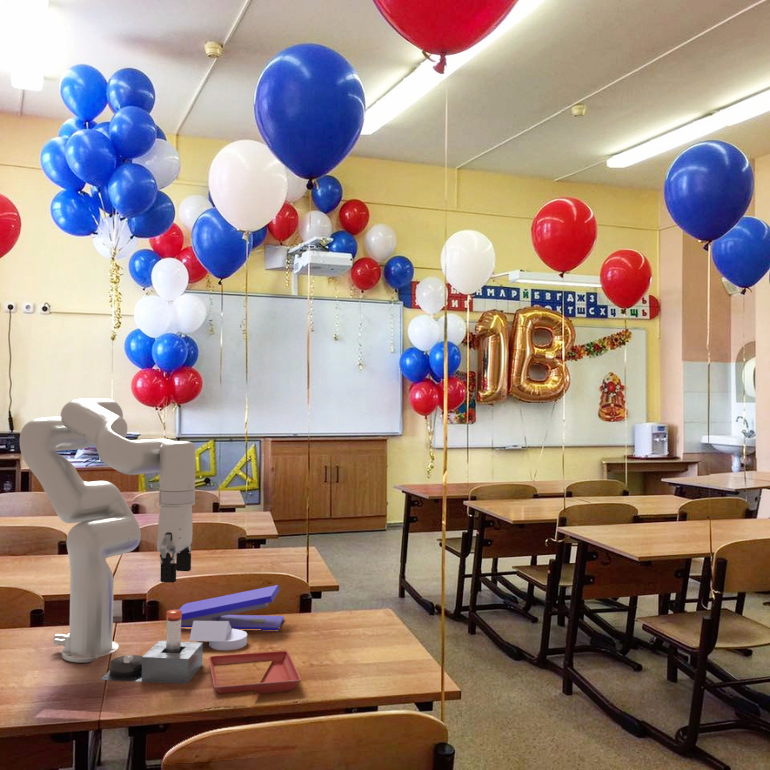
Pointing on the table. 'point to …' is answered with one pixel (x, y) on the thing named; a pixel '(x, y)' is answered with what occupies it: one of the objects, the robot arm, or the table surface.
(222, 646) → the wedge on round base
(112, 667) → the block
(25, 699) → the table surface
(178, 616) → the pin
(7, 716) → the table surface
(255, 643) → the table surface
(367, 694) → the table surface
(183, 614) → the stapler
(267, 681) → the plant saucer
